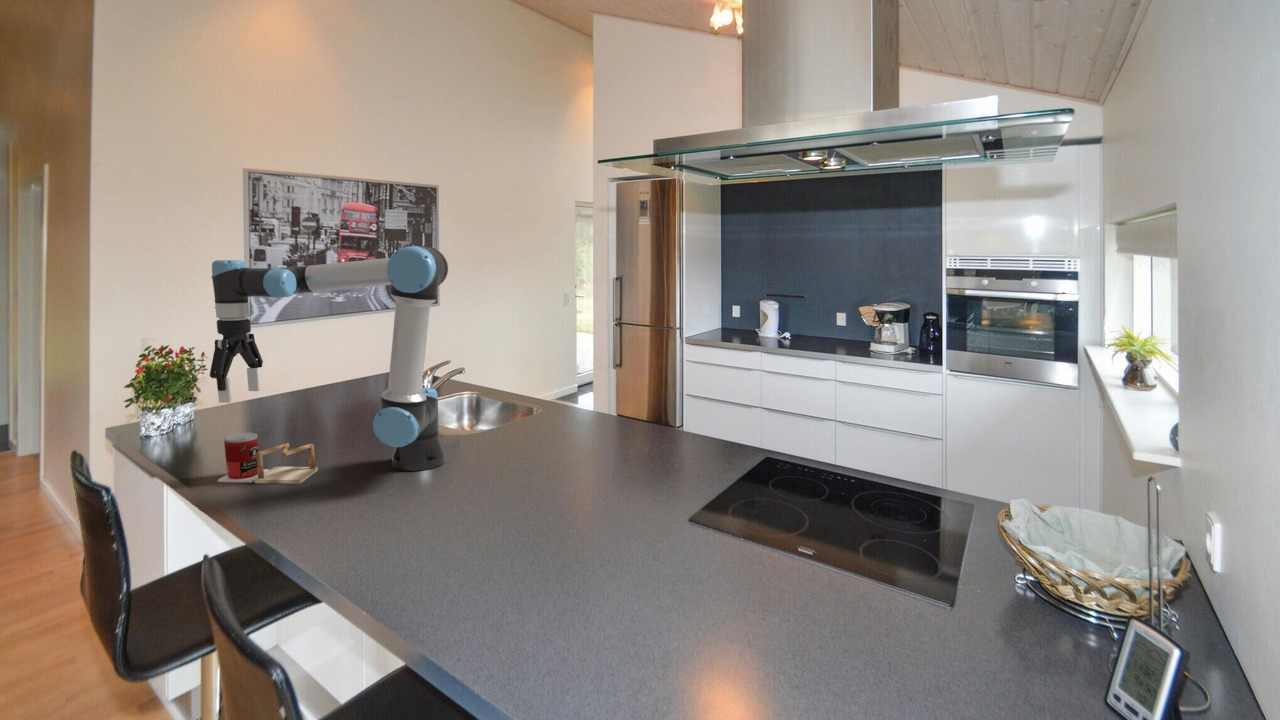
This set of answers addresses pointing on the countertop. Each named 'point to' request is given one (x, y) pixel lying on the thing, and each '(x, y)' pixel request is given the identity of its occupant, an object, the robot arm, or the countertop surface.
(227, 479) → the coaster
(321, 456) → the countertop surface
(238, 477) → the canned food
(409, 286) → the robot arm
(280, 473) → the wooden zigzag stand
